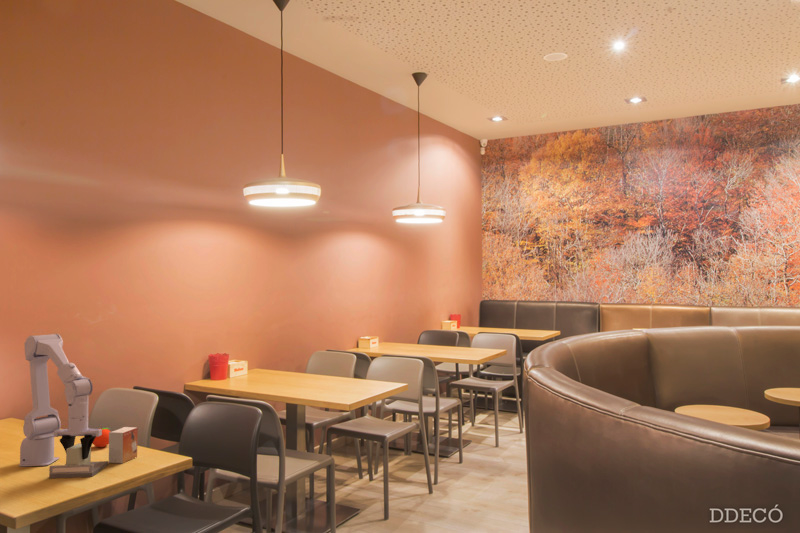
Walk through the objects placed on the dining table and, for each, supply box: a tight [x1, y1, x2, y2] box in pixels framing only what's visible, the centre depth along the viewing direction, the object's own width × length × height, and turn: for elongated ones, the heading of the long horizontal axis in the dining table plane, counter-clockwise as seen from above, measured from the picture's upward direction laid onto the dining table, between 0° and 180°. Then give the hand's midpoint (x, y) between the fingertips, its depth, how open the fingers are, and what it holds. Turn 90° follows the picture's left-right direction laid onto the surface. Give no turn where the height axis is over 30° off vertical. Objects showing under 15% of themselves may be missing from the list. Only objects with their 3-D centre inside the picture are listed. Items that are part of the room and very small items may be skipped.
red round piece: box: [92, 427, 111, 448], centre depth 212 cm, size 8×7×7 cm
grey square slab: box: [48, 460, 109, 479], centre depth 183 cm, size 13×12×4 cm
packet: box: [65, 442, 92, 465], centre depth 182 cm, size 4×7×7 cm, turn 0°
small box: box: [108, 426, 138, 464], centre depth 195 cm, size 8×6×10 cm
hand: (77, 458), depth 182 cm, fingers open, 4 cm apart
